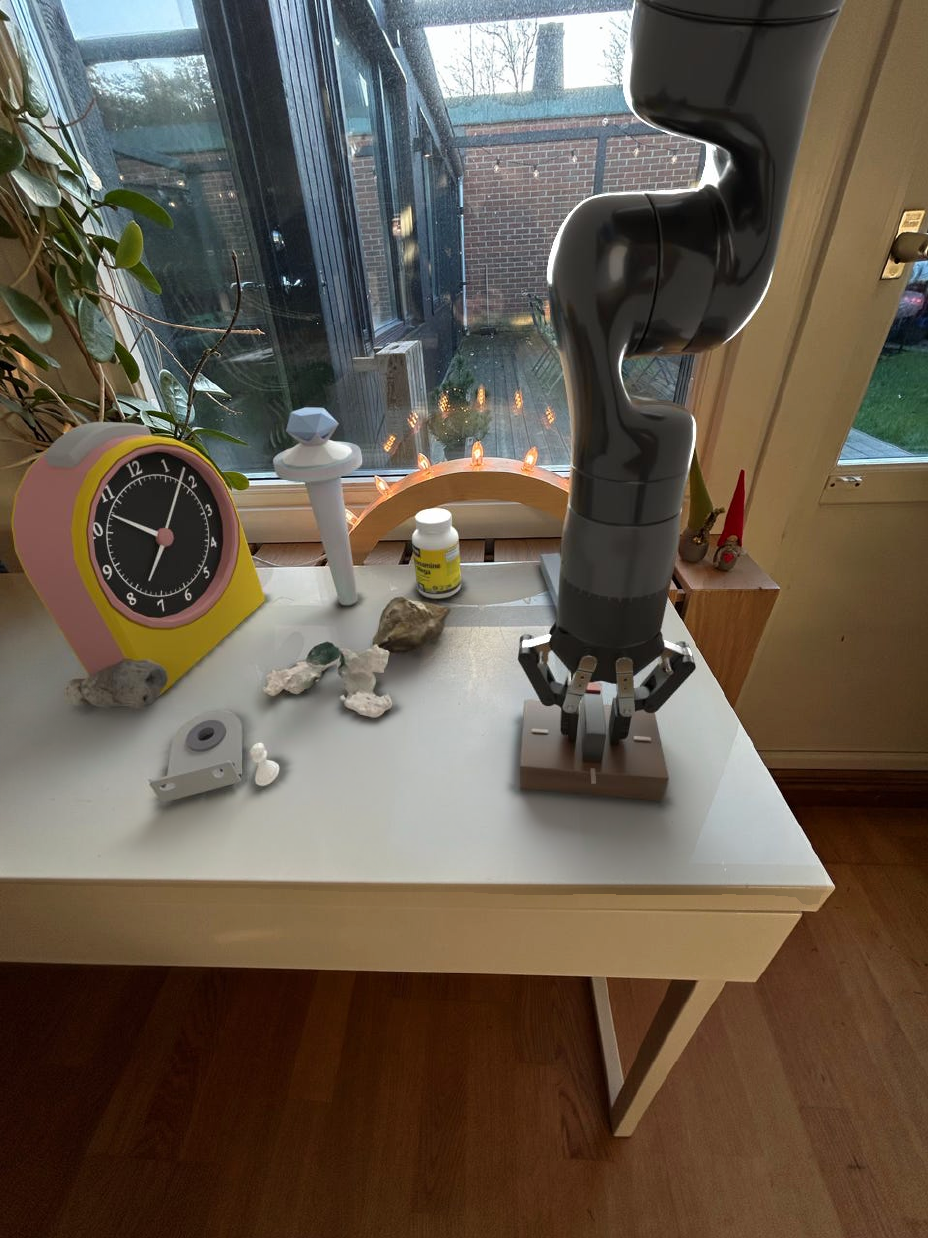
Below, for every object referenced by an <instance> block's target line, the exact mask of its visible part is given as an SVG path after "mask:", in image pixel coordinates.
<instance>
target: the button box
mask: <svg viewBox="0 0 928 1238" xmlns="http://www.w3.org/2000/svg"><path fill="white" fill-rule="evenodd" d="M539 560H540V562H539V567H540V570H541V573H542V577H543V578H544V581H545V584H546V587H547V589H548V593H549V595H550V597H551V600H552V603H553V605H554V608H555V611H556V612H557V606H558V590H559V574H560V552H553V553H541V554H540V559H539Z"/></svg>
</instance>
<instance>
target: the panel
mask: <svg viewBox="0 0 928 1238" xmlns="http://www.w3.org/2000/svg"><path fill="white" fill-rule="evenodd" d="M580 705H581V702H580V703H579V719H578V729H577V738H576V742H575V741H568V735H562V733H561V731H560V717H561V708H560V707H559V706H558V705H555V704H554V705H552V706H545V705H543V704H542V703H541V701H540V700H536V699H535V700H534V699H524V700H523V713H522V724H521V725H522V726H521V727H522V728H521V739H520V740H521V742H520V753H519V771H518V772H519V778H518V780H519V781H518V788H519V789H525V790H532V791H533V790H534V791H535V790H536V791H546V792H555V793H568V794H578V795H590V796H599V797H601V796H602V797H612V798H623V799H633V800H635V799H636V800H645V801H656V802H663V801H664V797H665V793H666V790H667V786H668V783H669V779H670V777H669V774H668V769H667V768H668V767H667V763H666V758H665V754H664V749H663V745H662V740H661V735H660V731H659V725H658V721H657V716H656V712H654V713H647V712H645V711H644V710H639V711H636V712H635V713H634V715H632V718H631V723H630V728H629V733H628V736H627V737H626V739H620V742H619V745H615V744H610V739H609V720H610V714H611V707H612V704H603V705H604V715H605V725H606V740H605V747H604V753H603V759H602V763H598V762H585V761H582V741H581V721H580Z"/></svg>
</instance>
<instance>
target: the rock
mask: <svg viewBox="0 0 928 1238" xmlns="http://www.w3.org/2000/svg"><path fill="white" fill-rule="evenodd" d="M389 656H390V652H389V651H388V650H384V649H381V648H379V647H378V646H377V644H375V645H374V646H373V645H371V647H370V648H368V649H365V650H362V651H359V652H358V653H355V652H353V651H352V650H350V649H349V648H340V647H339V646H338V645H337V646H336V645H334V643H332V642H330V641H328V640H327V641H324V642H322V643H319V644H316V645H314V647H312V648H311V649H310V651H308V654H307V655H306V658H305V660H304V661H298V662H296V663H295V666H294V667H291V668H285V669H281V670H278V671H276V670H274V669H271V670H270V673H268V674H267V676H266V678H265V684H266V686H265V685H264V686H263V687H262V691H263V692H264V693H265V694H267V695H268V696H271V697H275V696H277V695H278V694H280V693H281V692H282V691H283V690H286V691H287V692H288V691H289V692H290V693H291V694H294V695H295V694H296V695H299V694H301V692H304V691H305V689H310V688H311V687H312V686H313V685H314V684H316V683H318V682H319V681H320V679H321V678H322V674H323V673H322V672H323V671H326V670H327V669H328V668H329V667H331V666H334V665H335V664H337V666H336V667H337V675H338V676H339V677H340V678H341V679H344V682H345V683H344V687H345V688H344V689H345V691H346V692H347V694H348V695H347V696H346V697H345V695H344V694H342V695H340V696H339V700H340V701H342V702H343V705H344V706H345V708H347V709H350V710H352V711H355V712H357V714H358V715H360V716H361V715H362V716H364V717H369V718H372V719H373V718H374V719H375V718H378V717H380V716H382V715H383V714H384V713H385V711H388V710H390V709H391V708H392V706H393V702H392V700H391V699H392V698H391V697H390V695H389V693H385V695H381V696H378V695H376V693H375V692H374V688H375V686H376V682H377V679H376V676H375V674H374V673H379V674H383V673H384V672H385V668H386V666H387V664H388V660H389Z"/></svg>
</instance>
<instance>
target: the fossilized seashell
mask: <svg viewBox="0 0 928 1238" xmlns="http://www.w3.org/2000/svg"><path fill="white" fill-rule="evenodd" d="M451 608H452V607H450V606H441V605H439V604H435V603H431V602H427V601H421V600H420V601H419V600H411V599H409V598H406V597H405V596H404V597H403V596H399V597H398V596H396V597H393V598H392V599H390V600H389V602H388V603H387V604H386V606H385V608H383V610H382V612H381V614H380V618H379V624H378V627H377V631H376V633H375V635H374V636H373V638H372V643H371V644H372V645H371V646H374V645H375V644H377V646H378V647H379V648H381V649H384V650H388V651H389V654H390V653H391V654H408V653H412V652H415V651H417V650H420V649H422V648H423V647H425V646H426V645H427V644H429V643H434V642H435V641H437V640H438V639H439V638H440V637H441V636H442V634H443V632H444V628H445V625H446V619H447V618H448V617H447V616H448V615H450V612H451V610H452V609H451Z"/></svg>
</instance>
